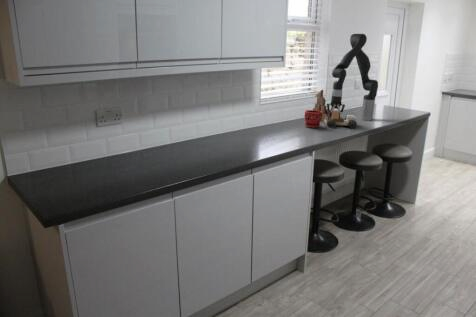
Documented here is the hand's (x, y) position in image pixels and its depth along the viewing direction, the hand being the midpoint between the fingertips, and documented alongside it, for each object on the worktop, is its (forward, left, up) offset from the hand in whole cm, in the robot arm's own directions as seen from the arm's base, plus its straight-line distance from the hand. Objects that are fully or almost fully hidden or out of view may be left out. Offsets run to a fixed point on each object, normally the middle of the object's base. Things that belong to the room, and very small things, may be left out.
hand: (334, 117), depth 303 cm
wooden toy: (-18, -8, -7) cm, 20 cm away
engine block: (0, 0, -1) cm, 1 cm away
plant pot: (+8, -18, -7) cm, 20 cm away
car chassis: (0, +4, -6) cm, 8 cm away
